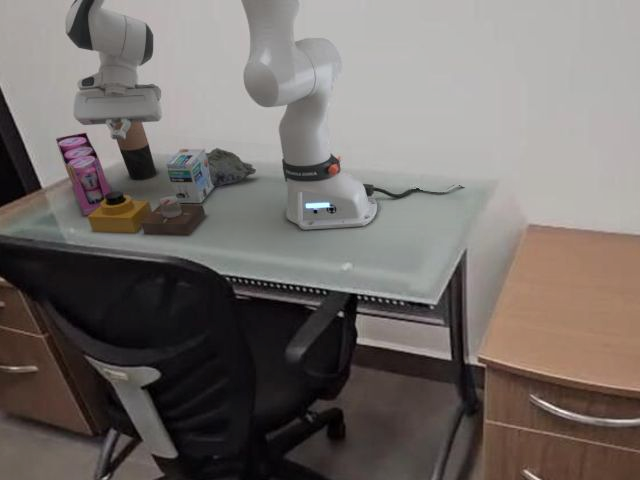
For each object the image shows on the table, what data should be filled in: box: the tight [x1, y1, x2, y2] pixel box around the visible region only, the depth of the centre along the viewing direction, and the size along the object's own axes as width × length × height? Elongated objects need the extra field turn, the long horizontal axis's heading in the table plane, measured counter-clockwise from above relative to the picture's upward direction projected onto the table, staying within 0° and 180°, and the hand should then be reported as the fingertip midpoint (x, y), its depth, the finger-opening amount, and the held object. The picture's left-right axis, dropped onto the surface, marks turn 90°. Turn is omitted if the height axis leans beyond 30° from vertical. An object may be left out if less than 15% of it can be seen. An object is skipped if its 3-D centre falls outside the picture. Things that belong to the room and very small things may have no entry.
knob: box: [158, 195, 182, 218], centre depth 145 cm, size 4×4×4 cm
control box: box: [86, 194, 153, 234], centre depth 148 cm, size 11×9×6 cm
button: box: [105, 190, 125, 205], centre depth 146 cm, size 4×4×2 cm
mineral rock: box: [206, 147, 257, 187], centre depth 164 cm, size 13×11×10 cm
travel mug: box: [113, 122, 157, 181], centre depth 168 cm, size 8×8×20 cm
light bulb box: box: [165, 148, 215, 204], centre depth 158 cm, size 11×7×11 cm, turn 177°
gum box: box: [55, 132, 111, 216], centre depth 158 cm, size 24×8×14 cm, turn 31°
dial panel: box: [141, 204, 206, 236], centre depth 147 cm, size 11×10×3 cm
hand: (118, 138), depth 150 cm, fingers closed
